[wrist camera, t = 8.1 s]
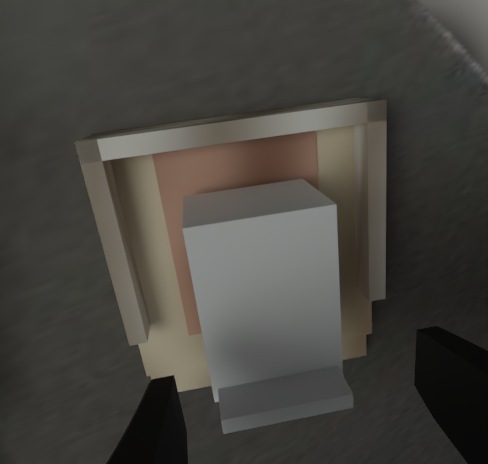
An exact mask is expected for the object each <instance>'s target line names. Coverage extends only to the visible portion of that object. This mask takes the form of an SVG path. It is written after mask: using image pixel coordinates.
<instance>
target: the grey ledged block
mask: <svg viewBox="0 0 488 464" xmlns="http://www.w3.org/2000/svg"><path fill="white" fill-rule="evenodd" d="M182 229H183V235H184V240H185V246H186V251H187V256H188V262H189V267H190V272H191V278H192V283H193V288H194V294H195V299H196V304H197V310H198V315H199V321H200V326H201V331H202V337H203V342H204V347H205V353H206V358H207V363H208V369H209V374H210V379H211V385H212V390H213V396H214V401H215V402H219V406H220V415H221V423H222V429H223V434H226V433H230V432H235V431H240V430H245V429H250V428H255V427H260V426H265V425H270V424H275V423H279V422H284V421H289V420H294V419H299V418H304V417H309V416H314V415H319V414H324V413H328V412H333V411H338V410H343V409H348V408H353V393H352V391H351V389H350V388H349V386H348V384H347V382H346V380H345V378H344V377H343V364H342V337H341V311H340V284H339V258H338V231H337V205H336V204H335V203H334V202H333V201H331V200H330V199H329V198H328V197H326V196H325V195H324V194H322V193H321V192H320V191H318V190H317V189H316V188H314V187H313V186H312V185H310V184H309V183H308V182H306V181H305V180H304V179H296V180H290V181H283V182H276V183H270V184H263V185H257V186H250V187H243V188H237V189H230V190H223V191H217V192H210V193H203V194H197V195H190V196H184V198H183V224H182Z"/></svg>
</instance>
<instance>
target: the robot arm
mask: <svg viewBox="0 0 488 464" xmlns="http://www.w3.org/2000/svg"><path fill="white" fill-rule="evenodd" d="M414 385H415V387H416V389H417V390H418V392H419V394H420V396H421V397H422V399H423V401H424V403H425V404H426V406H427V408H428V409H429V411H430V413H431V414H432V416H433V418H434V419H435V420H436V422H437V423H438V425H439V426H440V427H441V429H442V430H443V431H444V433H445V434H446V435H447V437H448V438H449V439H450V441H451V442H452V443H453V445H454V446H455V447H456V449H457V450H458V451H459V452H460V454H461V455H462V456H463V458H464V459H465V460H466V462H467V463H468V464H488V351H487V350H485V349H483V348H481V347H479V346H477V345H475V344H473V343H471V342H469V341H467V340H465V339H463V338H461V337H459V336H457V335H455V334H452V333H450V332H448V331H446V330H444V329H442V328H439V327H437V326H435V327H429V328H424V329H418V330H417V338H416V361H415V384H414ZM106 464H188V455H187V432H186V426H185V422H184V417H183V413H182V408H181V404H180V399H179V395H178V390H177V386H176V381H175V377H174V375H172V376H166V377H161V378H156V379H152V380H151V381H150V383H149V385H148V387H147V389H146V391H145V393H144V396H143V398H142V400H141V402H140V404H139V406H138V408H137V410H136V412H135V414H134V416H133V418H132V420H131V422H130V424H129V425H128V427H127V429H126V431H125V433H124V434H123V436H122V438H121V440H120V442H119V444H118V445H117V447H116V449H115V450H114V452H113V454H112V455H111V457H110V459H109V460H108V462H107V463H106Z"/></svg>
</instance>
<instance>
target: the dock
mask: <svg viewBox="0 0 488 464" xmlns="http://www.w3.org/2000/svg"><path fill="white" fill-rule="evenodd" d="M386 137H387V99H368V98H352V99H345V100H338V101H330V102H323V103H316V104H309V105H301V106H294V107H287V108H279V109H272V110H265V111H258V112H250V113H243V114H236V115H228V116H221V117H214V118H207V119H199V120H192V121H185V122H177V123H170V124H163V125H156V126H148V127H141V128H134V129H126V130H119V131H112V132H105V133H97V134H92V135H90V136H88V137H85V138H83V139H81V140H79V141H77V142H75V146H76V150H77V153H78V157H79V161H80V165H81V168H82V172H83V176H84V179H85V183H86V187H87V190H88V194H89V198H90V201H91V205H92V209H93V213H94V216H95V220H96V224H97V227H98V231H99V235H100V238H101V242H102V246H103V249H104V253H105V257H106V261H107V264H108V268H109V272H110V275H111V279H112V283H113V286H114V290H115V294H116V297H117V301H118V305H119V309H120V312H121V316H122V320H123V323H124V327H125V331H126V334H127V338H128V342H129V345H136V344H138V345H139V349H140V352H141V356H142V360H143V364H144V368H145V372H146V375H147V376H151V380H152V379H156V378H161V377H166V376H172V375H174V377H175V381H176V386H177V390H178V392H181V391H186V390H191V389H197V388H202V387H207V386H212V385H211V379H210V374H209V369H208V363H207V358H206V353H205V347H204V342H203V337H202V331H201V326H200V321H199V315H198V310H197V304H196V299H195V294H194V288H193V283H192V278H191V272H190V267H189V262H188V256H187V251H186V246H185V240H184V235H183V229H182V224H183V198H184V196H190V195H197V194H203V193H210V192H217V191H223V190H230V189H237V188H243V187H250V186H257V185H263V184H270V183H276V182H283V181H290V180H296V179H304V180H305V181H306V182H308V183H309V184H310V185H312V186H313V187H314V188H316V189H317V190H318V191H320V192H321V193H322V194H324V195H325V196H326V197H328V198H329V199H330V200H331V201H333V202H334V203H335V204H336V205H337V231H338V258H339V284H340V311H341V337H342V360H345V359H350V358H355V357H361V356H366V335H367V334H372V301H376V300H381V299H386Z"/></svg>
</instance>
